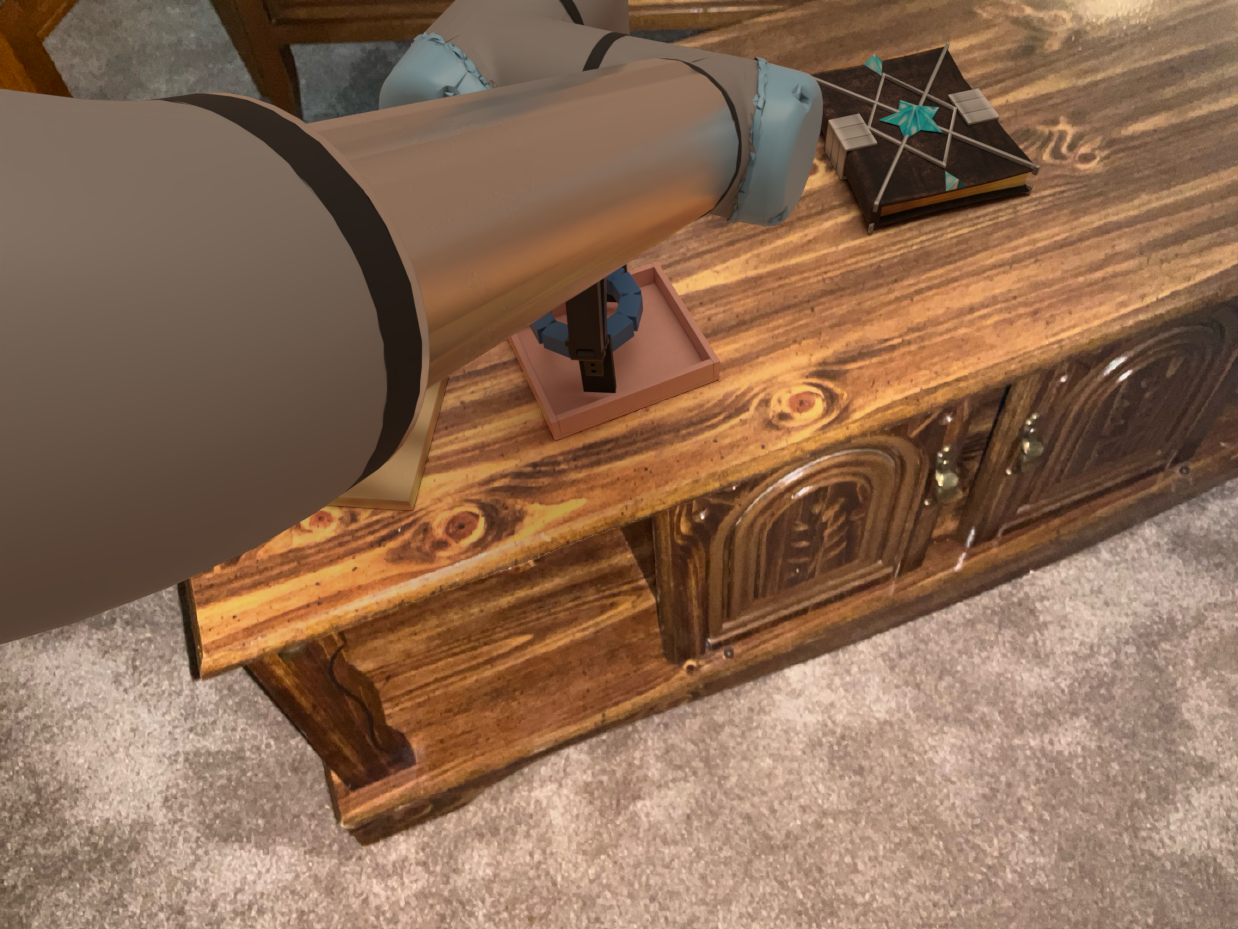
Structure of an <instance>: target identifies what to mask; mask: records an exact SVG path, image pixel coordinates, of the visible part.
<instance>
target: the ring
mask: <svg viewBox="0 0 1238 929" xmlns="http://www.w3.org/2000/svg"><path fill="white" fill-rule="evenodd" d="M606 284H607V294H610V295H612V296H613V297H614V298H615V300H616V302H617V303H618V306H617V310H616V313H614V314H613V315H611V316H610V317H609V318H607V334H611V342H612V350H613V352H614V351H615V350H616V349H618V348H619V347H620V346H622V345H623V344H624V343H626V342H627V341H628V340H630V339H631V338H632V337H634V331H638V328H639V324H640V320H641V316H642V313H643V300H642V295H641V289H640V288H639V286H638V285H637V283H636V282H635V280H634V279H633V277H632V276H631V274H630V273H629V272H627V273H625V271H624V268H622V267H621V268H619V269H618V270H616V271H614V272H613V273H611V274H610V275H608V276H606ZM529 326H530V328H531V330H532V331H533V333H534V335H535V337H536V339H537V340H538V342H539V344H543V345H544V348H545V349H548V350H550V351H553V352H555V353H558V354H560V355H563V356H565V357H568V358H570V356H569V349H570V348H566V347H565V341H566V339H567V337H569V336H568V325H567V324H564V323H562V322H559V321H557V320H555V318H554V316H553V315H552V311H551V312H549V313H548V314H546V315H545V316H543V317H541V318H540V319H538V320H537V321H535V322H534V323H532V324H530V325H529Z"/></svg>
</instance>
